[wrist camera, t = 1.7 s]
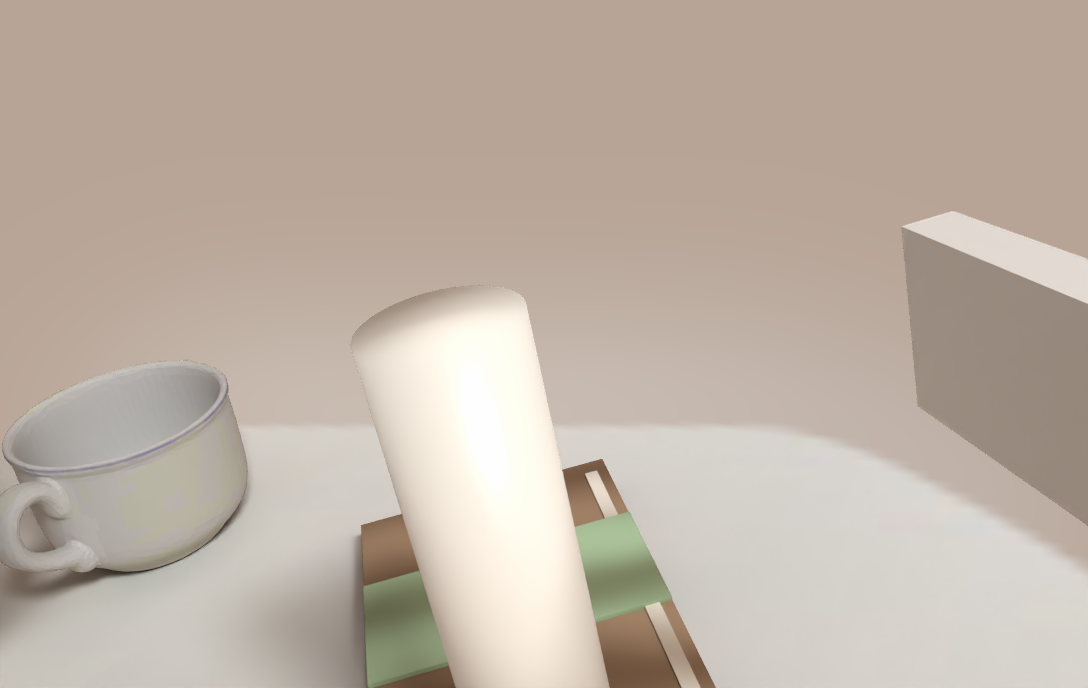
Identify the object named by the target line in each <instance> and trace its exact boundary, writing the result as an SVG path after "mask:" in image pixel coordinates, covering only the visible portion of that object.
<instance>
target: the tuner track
mask: <svg viewBox="0 0 1088 688" xmlns="http://www.w3.org/2000/svg"><path fill="white" fill-rule="evenodd" d="M562 471H563V476H564V480H565V485H566V489H567V494H568V499H569V503H570V508H571V512H572V517H573V522H574V526H575V531H576V535H577V540H578V545H579V549H580V554H581V558H582V563H583V568H584V572H585V577H586V581H587V586H588V591H589V595H590V600H591V604H592V609H593V614H594V618H595V623H596V627H597V632H598V637H599V641H600V646H601V650H602V655H603V660H604V664H605V669H606V673H607V678H608V683H609V687H610V688H716V687H715V685H714V683H713V681H712V679H711V677H710V675H709V673H708V671H707V669H706V667H705V665H704V663H703V661H702V659H701V657H700V655H699V653H698V651H697V649H696V647H695V645H694V643H693V641H692V639H691V637H690V635H689V633H688V631H687V629H686V627H685V625H684V623H683V621H682V619H681V617H680V615H679V613H678V611H677V609H676V607H675V605H674V603H673V601H672V596H671V594H670V592H669V590H668V588H667V586H666V584H665V582H664V580H663V578H662V576H661V574H660V572H659V570H658V568H657V566H656V564H655V562H654V560H653V558H652V556H651V554H650V552H649V550H648V548H647V546H646V544H645V542H644V540H643V538H642V536H641V534H640V532H639V530H638V528H637V526H636V524H635V522H634V520H633V518H632V516H631V514H630V512H628V510H627V508H626V506H625V504H624V502H623V500H622V498H621V496H620V494H619V492H618V490H617V488H616V486H615V484H614V482H613V480H612V478H611V476H610V474H609V472H608V470H607V468H606V466H605V464H604V462H603V460H602V459H600V460H596V461H593V462H589V463H585V464H582V465H578V466H575V467H571V468H567V469H564V470H562ZM361 531H362V553H363V574H364V586H363V598H364V620H365V642H366V664H367V685H368V688H456V687H455V684H454V681H453V677H452V674H451V671H450V668H449V664H448V661H447V658H446V655H445V651H444V648H443V645H442V642H441V638H440V635H439V632H438V629H437V625H436V622H435V619H434V616H433V613H432V609H431V606H430V603H429V600H428V596H427V593H426V590H425V587H424V583H423V580H422V577H421V574H420V570H419V567H418V564H417V561H416V558H415V554H414V551H413V548H412V545H411V541H410V538H409V535H408V532H407V528H406V525H405V522H404V519H403V515H402V514H400V515H397V516H393V517H389V518H386V519H382V520H379V521H375V522H371V523H368V524H364V525H361Z"/></svg>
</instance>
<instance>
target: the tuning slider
mask: <svg viewBox="0 0 1088 688" xmlns="http://www.w3.org/2000/svg"><path fill="white" fill-rule="evenodd" d="M351 350H352V354H353V357H354V360H355V363H356V367H357V370H358V373H359V376H360V380H361V383H362V386H363V389H364V392H365V396H366V399H367V402H368V405H369V409H370V412H371V415H372V418H373V421H374V425H375V428H376V431H377V435H378V438H379V441H380V444H381V448H382V451H383V454H384V457H385V460H386V464H387V467H388V470H389V473H390V477H391V480H392V483H393V486H394V490H395V493H396V496H397V499H398V503H399V506H400V509H401V512H402V515H403V519H404V522H405V525H406V528H407V532H408V535H409V538H410V541H411V545H412V548H413V551H414V554H415V558H416V561H417V564H418V567H419V570H420V574H421V577H422V580H423V583H424V587H425V590H426V593H427V596H428V600H429V603H430V606H431V609H432V613H433V616H434V619H435V622H436V625H437V629H438V632H439V635H440V638H441V642H442V645H443V648H444V651H445V655H446V658H447V661H448V664H449V668H450V671H451V674H452V677H453V681H454V684H455V687H456V688H610V687H609V683H608V678H607V673H606V669H605V664H604V660H603V655H602V650H601V646H600V641H599V637H598V632H597V627H596V623H595V618H594V614H593V609H592V604H591V600H590V595H589V591H588V586H587V581H586V577H585V572H584V568H583V563H582V558H581V554H580V549H579V545H578V540H577V535H576V531H575V526H574V522H573V517H572V512H571V508H570V503H569V499H568V494H567V489H566V485H565V480H564V476H563V471H562V467H561V462H560V457H559V453H558V448H557V444H556V439H555V434H554V430H553V425H552V421H551V416H550V411H549V407H548V402H547V398H546V393H545V388H544V384H543V379H542V375H541V370H540V365H539V361H538V356H537V352H536V347H535V342H534V338H533V333H532V329H531V324H530V319H529V315H528V311H527V306H526V302H525V300H524V299H523V297H522V296H521V295H519V294H518V293H516V292H514V291H512V290H509V289H506V288H502V287H496V286H483V285H477V286H476V285H475V286H461V287H453V288H447V289H441V290H437V291H433V292H429V293H425V294H421V295H418V296H415V297H412V298H409V299H407V300H404V301H402V302H399V303H397V304H394V305H392V306H390V307H388V308H386V309H384V310H382V311H381V312H379V313H377V314H376V315H374V316H373V317H371V318H370V319H368V320H367V321H366V322H365V323H364V324H362V325H361V326H360V327H359V328H358V330H357V331H356V332H355V334H354V335H353V337H352V340H351Z"/></svg>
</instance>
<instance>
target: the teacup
mask: <svg viewBox="0 0 1088 688" xmlns="http://www.w3.org/2000/svg"><path fill="white" fill-rule="evenodd" d="M2 452H3V454H4V457H5V459H6V460H7V462H8V463H9V464H10V465H12V467H13V469H14V471H15V474H16V476H17V478H18V481H19V483H20V484H17V485H15V486H13V487H11V488H9V489H7V490H6V491H4V492H3V493H2V494H1V495H0V561H1V562H2V563H3V564H4V565H6V566H8V567H11V568H14V569H17V570H21V571H26V572H49V571H57V570H61V569H66V568H68V569H70V570H72V571H75V572H80V573H81V572H89V571H91V570H93V569H94V568H95V567H96V568H105V569H110V570H115V571H127V572H129V571H143V570H148V569H153V568H157V567H161V566H164V565H167V564H169V563H172V562H175V561H177V560H179V559H182V558H184V557H186V556H187V555H189V554H191V553H192V552H194V551H196V550H197V549H199V548H201V547H202V546H203V545H205V544H206V543H207V542H208V541H210V540H211V539H212V538H213V537H214V536H215V535H216V534H217V533H218V532H219V530H220V529H221V528H222V527H223V525H224V523H225V522H226V521H227V520H228V519H229V518H230V517H231V515H232V514H233V513H234V511H235V510H236V509H237V507H238V505H239V503H240V501H241V499H242V497H243V495H244V492H245V489H246V485H247V474H248V469H247V461H246V455H245V451H244V447H243V443H242V439H241V435H240V432H239V428H238V425H237V421H236V418H235V415H234V412H233V408H232V405H231V402H230V399H229V396H228V383H227V379H226V377H225V375H224V374H223V373H222V372H220V371H219V370H217V369H216V368H214V367H211V366H209V365H206V364H203V363H197V362H194V361H188V360H183V361H158V362H151V363H144V364H139V365H134V366H131V367H125V368H121V369H118V370H114V371H111V372H107V373H104V374H101V375H98V376H95V377H92V378H89V379H86V380H84V381H82V382H79V383H77V384H74V385H72V386H70V387H69V388H67V389H64V390H62V391H60V392H57V393H55V394H53V395H52V396H51V397H48V398H46V399H44V400H43V401H42V402H40V403H38V404H37V405H35V406H34V407H32V408H31V409H30V410H28V411H27V412H26V413H25V414H24V415H23V416H21V417H20V418H19V419H18V420H17V421H16V422H15V423H14V424H13V425H12V426H11V427H10V428H9V430H8V431H7V433H6V435H5V437H4V440H3V443H2ZM29 506H30V507H31V509H32V511H33V514H34V516H35V518H36V520H37V521H38V523H39V525H40V527H41V529H42V530H43V532H44V534H45V536H46V537H47V538H48V540H49V541H50V543H51V544H52V545H53V546H54V547H55V548H56V549H55V550H51V551H47V552H32V551H29V550H28V549H27V548H25V546H24V545H23V543H22V541H21V538H20V533H19V525H20V520H21V516H22V514H23V512H24V511H25V510H26V509H27V508H28V507H29Z"/></svg>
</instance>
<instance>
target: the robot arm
mask: <svg viewBox="0 0 1088 688" xmlns="http://www.w3.org/2000/svg"><path fill="white" fill-rule="evenodd" d="M902 238H903V249H904V260H905V271H906V282H907V293H908V304H909V315H910V326H911V337H912V348H913V359H914V369H915V370H914V371H915V381H916V393H917V403H918V406H919V407H920V408H921V409H923V410H925V411H926V412H927V413H929V414H930V415H931V416H933V417H934V418H936V419H937V420H938V421H940V422H941V423H943V424H944V425H946V426H947V427H949V428H950V429H951V430H953V431H954V432H956V433H957V434H959V435H960V436H961V437H963V438H964V439H965V440H967V441H968V442H970V443H971V444H973V445H974V446H976V447H977V448H978V449H980V450H981V451H982V452H984V453H985V454H987V455H988V456H990V457H991V458H992V459H994V460H995V461H997V462H998V463H1000V464H1001V465H1002V466H1004V467H1005V468H1007V469H1008V470H1009V471H1011V472H1012V473H1014V474H1015V475H1017V476H1018V477H1020V478H1021V479H1022V480H1024V481H1025V482H1026V483H1028V484H1029V485H1031V486H1032V487H1034V488H1035V489H1037V490H1038V491H1039V492H1041V493H1042V494H1044V495H1045V496H1047V497H1048V498H1049V499H1051V500H1052V501H1053V502H1055V503H1057V504H1058V505H1059V506H1061V507H1062V508H1063V509H1065V510H1066V511H1068V512H1069V513H1070V514H1072V515H1073V516H1075V517H1076V518H1078V519H1079V520H1080V521H1082V522H1083V523H1085V524H1086V525H1088V259H1086V258H1083V257H1080V256H1078V255H1075V254H1072V253H1069V252H1066V251H1064V250H1061V249H1058V248H1055V247H1053V246H1050V245H1047V244H1044V243H1041V242H1039V241H1036V240H1033V239H1030V238H1027V237H1025V236H1022V235H1019V234H1016V233H1013V232H1010V231H1008V230H1005V229H1002V228H999V227H996V226H994V225H991V224H988V223H985V222H983V221H980V220H977V219H974V218H971V217H969V216H965V215H963V214H960V213H957V212H955V211H951V212H948V213H945V214H941V215H938V216H935V217H931V218H928V219H925V220H921V221H918V222H915V223H911V224H908V225H905V226H902Z"/></svg>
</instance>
